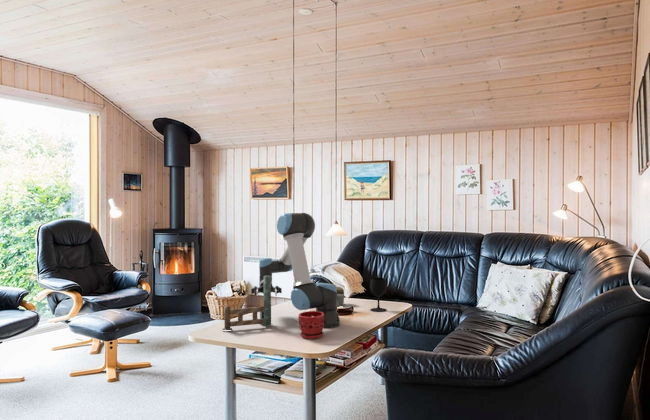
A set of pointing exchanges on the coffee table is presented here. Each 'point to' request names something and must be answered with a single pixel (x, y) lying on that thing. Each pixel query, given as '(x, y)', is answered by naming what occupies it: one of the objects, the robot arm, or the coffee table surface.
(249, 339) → the coffee table surface
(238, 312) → the gate
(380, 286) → the wine glass
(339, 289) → the shell
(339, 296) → the digital clock
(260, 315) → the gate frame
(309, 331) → the plant pot
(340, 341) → the coffee table surface
